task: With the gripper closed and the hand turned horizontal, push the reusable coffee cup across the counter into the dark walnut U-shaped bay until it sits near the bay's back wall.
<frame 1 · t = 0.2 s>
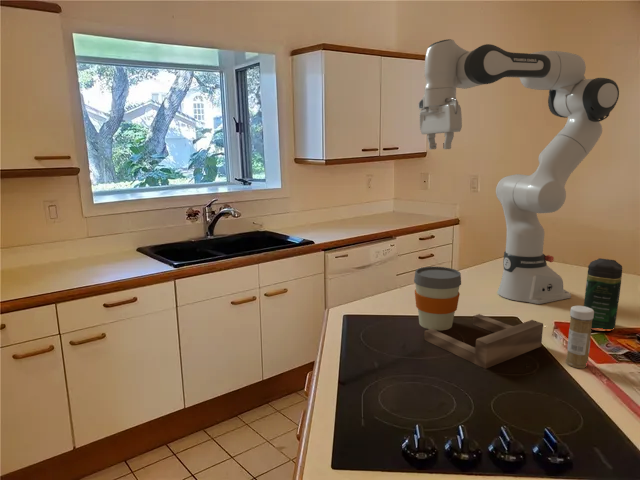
hand: (439, 149, 139), 48 cm above the counter, tool pointing down, fingers open, 8 cm apart
spice jar: (576, 365, 107), on the counter
walnut bay: (476, 340, 121), on the counter
reusable coffee cup: (435, 324, 132), on the counter
coffee jar: (598, 327, 129), on the counter
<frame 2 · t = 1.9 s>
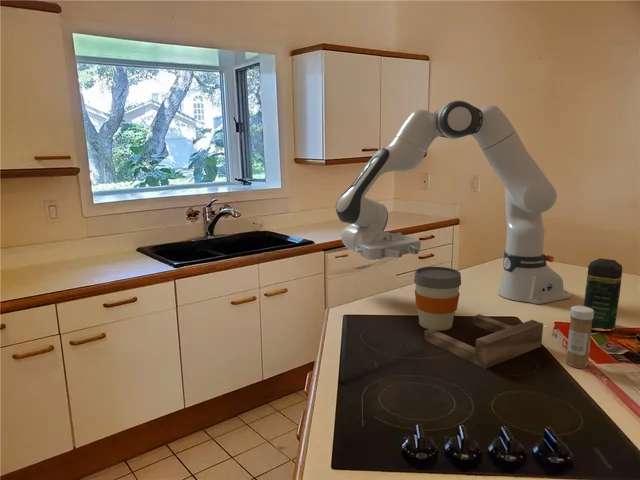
hand: (408, 253, 138), 18 cm above the counter, tool horizontal, fingers open, 5 cm apart
nothing on the counter moved.
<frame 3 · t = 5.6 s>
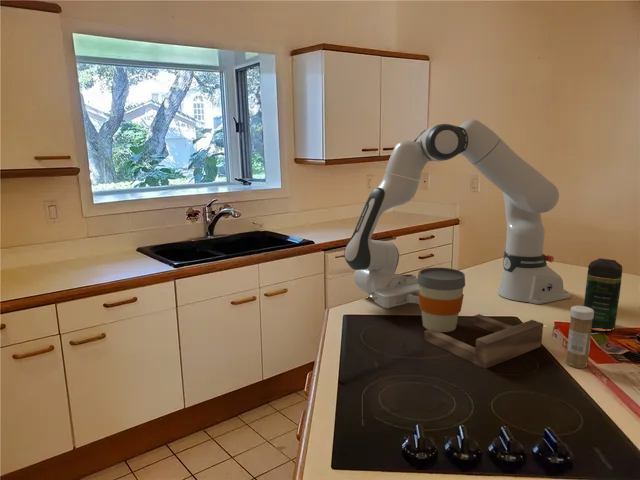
hand: (424, 300, 135), 5 cm above the counter, tool horizontal, fingers closed, pressing on reusable coffee cup
reusable coffee cup: (439, 326, 131), on the counter, touching gripper
everything else where it was.
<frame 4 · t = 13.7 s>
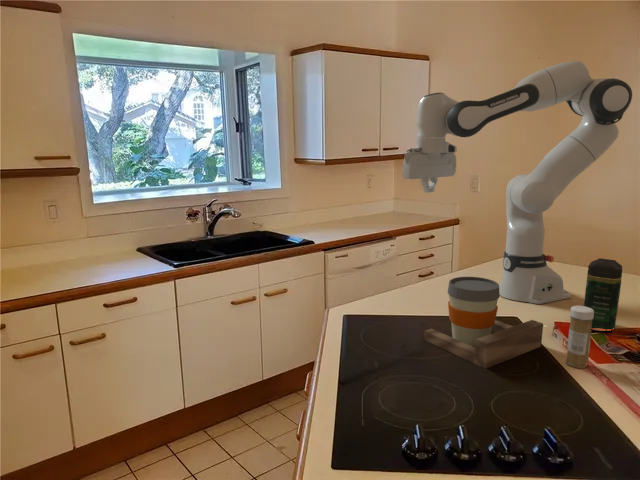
hand: (428, 192, 149), 34 cm above the counter, tool pointing down, fingers closed
reusable coffee cup: (470, 339, 122), on the counter
everything else where it was.
at the end: reusable coffee cup 1.7 cm from the walnut bay (horizontally); reusable coffee cup tilted 0°; reusable coffee cup moved 12.2 cm from its start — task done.
